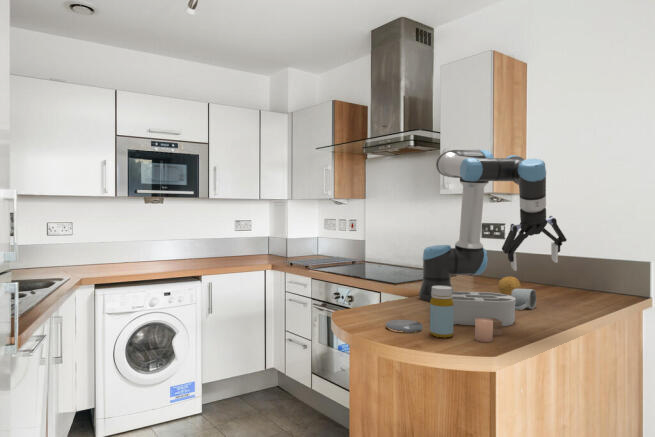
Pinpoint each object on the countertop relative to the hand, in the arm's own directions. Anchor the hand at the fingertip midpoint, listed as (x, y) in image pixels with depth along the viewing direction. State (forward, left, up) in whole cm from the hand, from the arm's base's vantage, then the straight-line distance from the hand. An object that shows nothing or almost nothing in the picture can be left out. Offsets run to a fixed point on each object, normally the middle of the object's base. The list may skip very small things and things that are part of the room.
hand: (534, 264), depth 146 cm
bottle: (+15, -33, -21) cm, 42 cm away
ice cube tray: (-6, -19, -21) cm, 29 cm away
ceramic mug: (-27, +5, -21) cm, 35 cm away
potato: (-49, +6, -21) cm, 53 cm away
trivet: (+8, -44, -21) cm, 49 cm away
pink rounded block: (+18, -21, -21) cm, 34 cm away
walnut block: (+11, -17, -21) cm, 29 cm away
